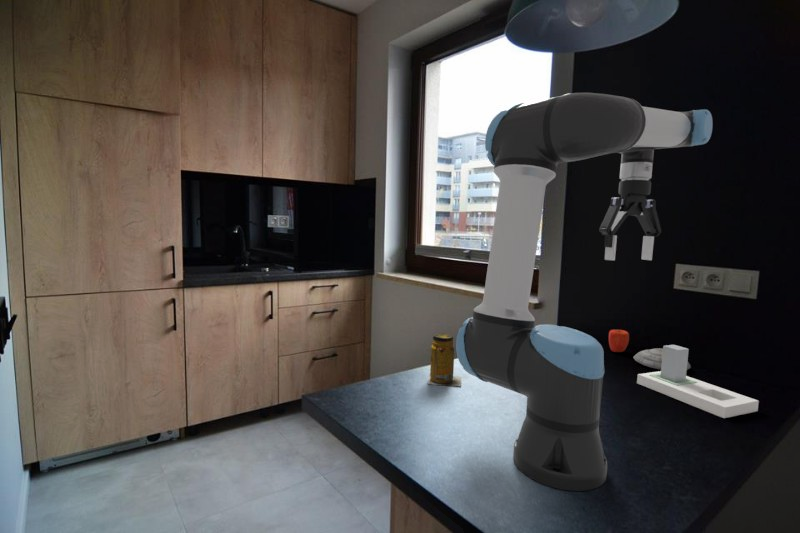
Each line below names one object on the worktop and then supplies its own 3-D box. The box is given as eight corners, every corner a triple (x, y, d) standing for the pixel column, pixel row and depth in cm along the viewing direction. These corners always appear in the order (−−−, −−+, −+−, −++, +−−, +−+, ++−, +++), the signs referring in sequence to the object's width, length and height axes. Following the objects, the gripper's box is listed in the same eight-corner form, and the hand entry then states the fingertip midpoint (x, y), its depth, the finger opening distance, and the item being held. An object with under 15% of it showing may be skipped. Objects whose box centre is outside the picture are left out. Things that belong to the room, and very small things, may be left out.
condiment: (429, 375, 118) (431, 331, 117) (460, 377, 117) (462, 333, 116) (427, 384, 111) (429, 338, 110) (461, 387, 110) (463, 341, 109)
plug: (673, 392, 111) (678, 350, 110) (657, 385, 115) (660, 345, 114) (684, 390, 113) (688, 348, 111) (667, 383, 117) (671, 343, 116)
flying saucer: (622, 359, 139) (623, 342, 138) (664, 358, 141) (665, 341, 141) (657, 375, 124) (658, 356, 124) (703, 374, 126) (704, 355, 126)
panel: (723, 418, 96) (725, 406, 96) (636, 383, 116) (637, 373, 116) (757, 411, 101) (758, 399, 100) (668, 378, 121) (669, 369, 121)
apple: (623, 355, 142) (625, 333, 141) (604, 351, 146) (605, 329, 146) (631, 352, 146) (632, 330, 145) (612, 348, 150) (614, 326, 150)
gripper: (611, 175, 107) (605, 261, 109) (681, 182, 116) (673, 261, 119) (588, 178, 114) (582, 258, 116) (655, 184, 123) (648, 258, 126)
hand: (628, 260), depth 117 cm, fingers open, 13 cm apart
